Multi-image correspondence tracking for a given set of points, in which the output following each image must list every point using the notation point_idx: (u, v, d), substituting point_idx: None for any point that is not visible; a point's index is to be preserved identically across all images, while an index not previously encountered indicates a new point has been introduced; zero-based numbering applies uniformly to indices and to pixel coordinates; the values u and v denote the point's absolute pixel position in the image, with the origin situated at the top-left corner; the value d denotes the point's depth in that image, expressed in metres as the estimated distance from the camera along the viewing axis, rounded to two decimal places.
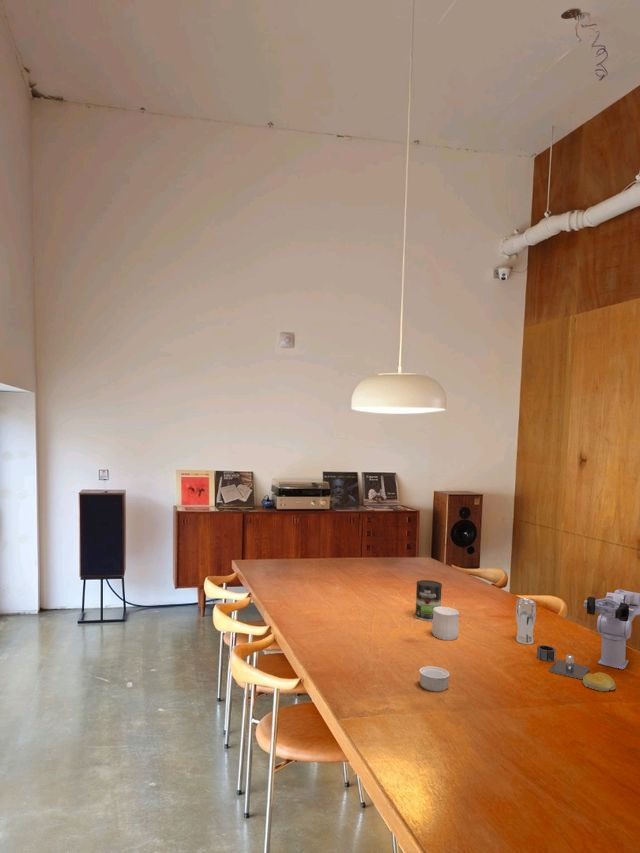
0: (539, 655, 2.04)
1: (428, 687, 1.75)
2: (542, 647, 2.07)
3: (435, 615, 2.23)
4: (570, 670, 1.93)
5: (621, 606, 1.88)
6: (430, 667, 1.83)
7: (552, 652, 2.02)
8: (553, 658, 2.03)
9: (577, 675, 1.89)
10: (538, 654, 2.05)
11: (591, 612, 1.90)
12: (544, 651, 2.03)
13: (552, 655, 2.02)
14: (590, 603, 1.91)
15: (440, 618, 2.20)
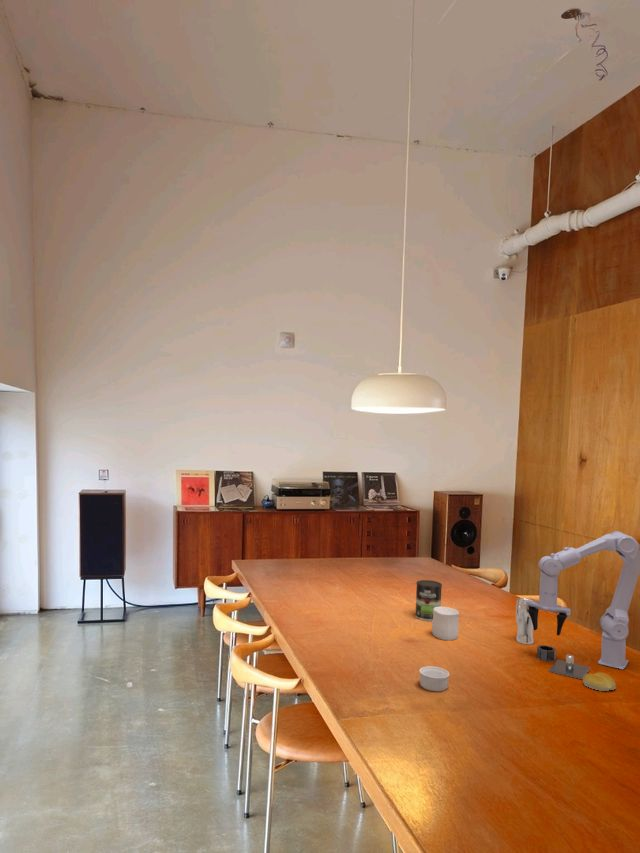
0: (539, 655, 2.04)
1: (428, 687, 1.75)
2: (542, 647, 2.07)
3: (435, 615, 2.23)
4: (570, 670, 1.93)
5: (559, 622, 2.01)
6: (430, 667, 1.83)
7: (552, 652, 2.02)
8: (553, 658, 2.03)
9: (577, 675, 1.89)
10: (538, 654, 2.05)
11: (537, 626, 2.08)
12: (544, 651, 2.03)
13: (552, 655, 2.02)
14: (533, 623, 2.06)
15: (440, 618, 2.20)
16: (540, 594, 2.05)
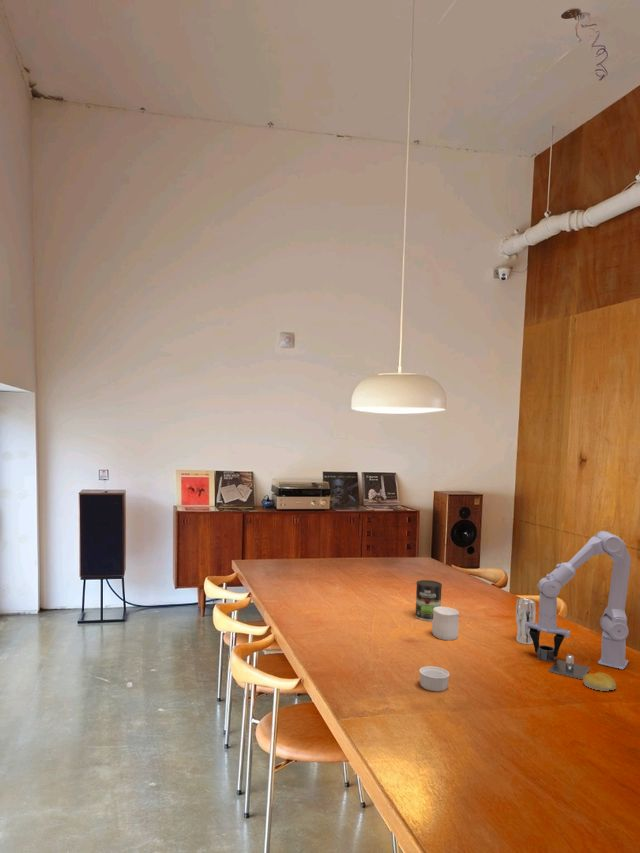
0: (539, 655, 2.04)
1: (428, 687, 1.75)
2: (542, 647, 2.07)
3: (435, 615, 2.23)
4: (570, 670, 1.93)
5: (556, 644, 2.01)
6: (430, 667, 1.83)
7: (552, 652, 2.02)
8: (553, 658, 2.03)
9: (577, 675, 1.89)
10: (538, 654, 2.05)
11: None
12: (544, 651, 2.03)
13: (552, 655, 2.02)
14: (534, 645, 2.06)
15: (440, 618, 2.20)
16: (539, 616, 2.05)
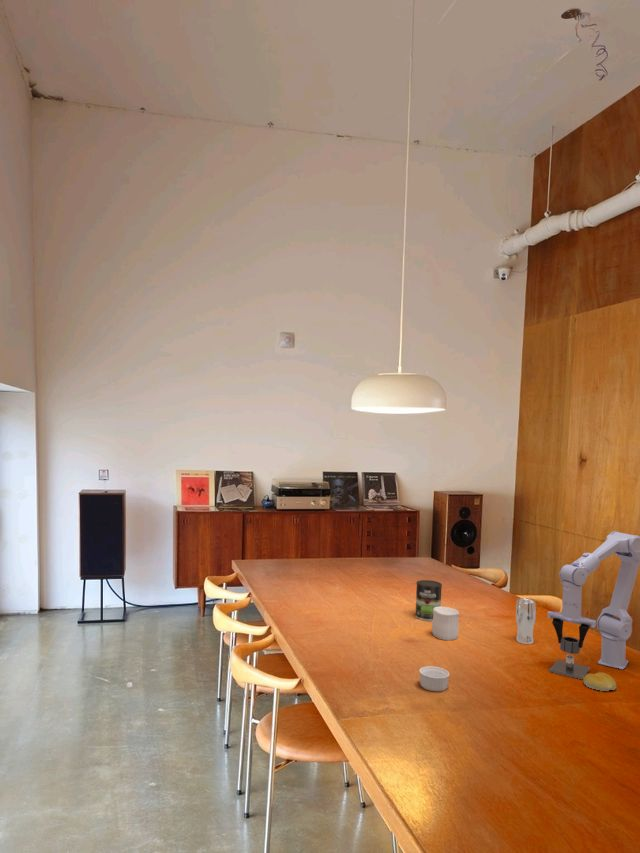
0: (563, 647, 1.94)
1: (428, 687, 1.75)
2: (566, 638, 1.97)
3: (435, 615, 2.23)
4: (570, 670, 1.93)
5: (581, 634, 1.91)
6: (430, 667, 1.83)
7: (577, 644, 1.92)
8: (578, 650, 1.93)
9: (577, 675, 1.89)
10: (562, 646, 1.94)
11: None
12: (569, 643, 1.92)
13: (577, 647, 1.92)
14: (558, 636, 1.96)
15: (440, 618, 2.20)
16: (563, 605, 1.95)
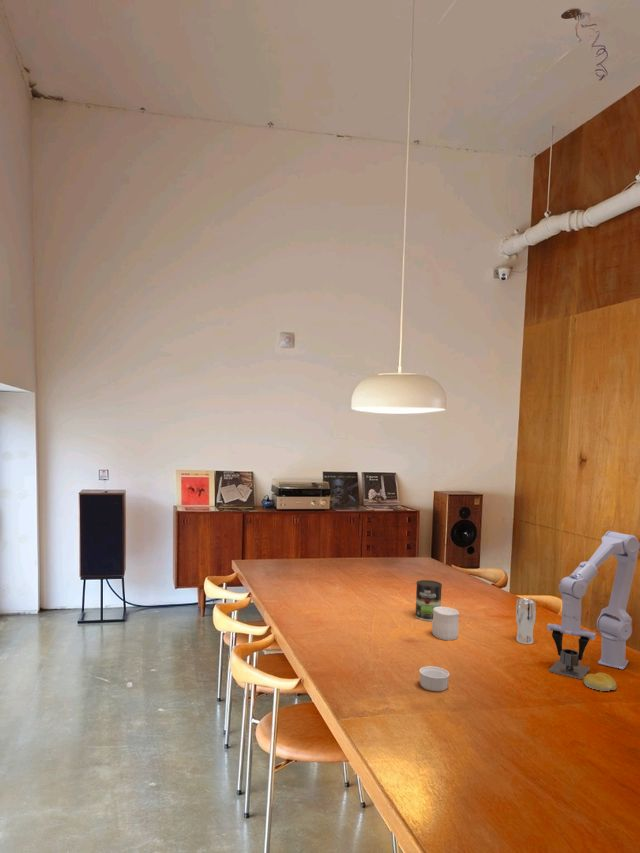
0: (562, 659, 1.94)
1: (428, 687, 1.75)
2: (565, 651, 1.97)
3: (435, 615, 2.23)
4: (570, 670, 1.93)
5: (581, 646, 1.91)
6: (430, 667, 1.83)
7: (577, 656, 1.92)
8: (577, 663, 1.92)
9: (577, 675, 1.89)
10: (561, 658, 1.94)
11: None
12: (568, 655, 1.92)
13: (576, 660, 1.92)
14: (557, 648, 1.96)
15: (440, 618, 2.20)
16: (563, 617, 1.95)
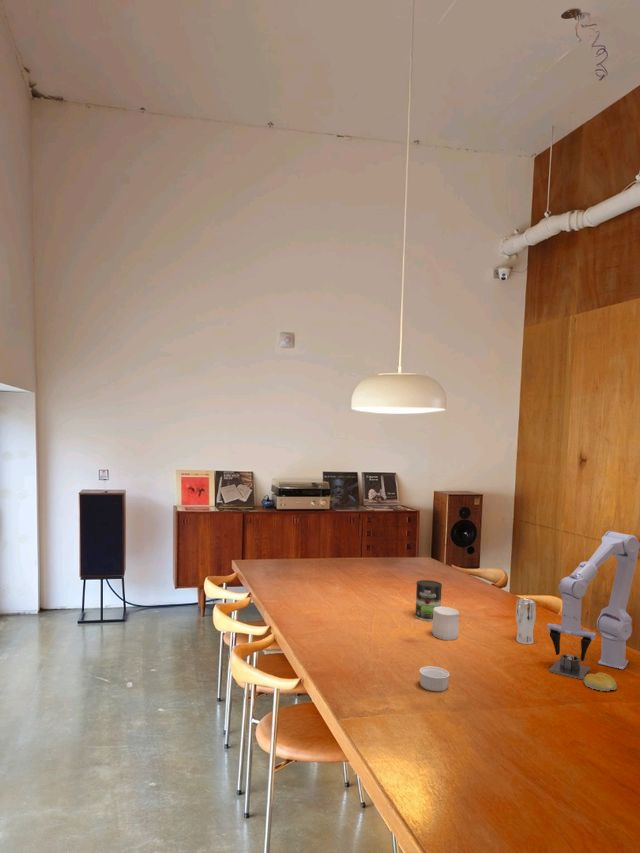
0: (562, 665, 1.94)
1: (428, 687, 1.75)
2: (565, 656, 1.97)
3: (435, 615, 2.23)
4: None
5: (583, 647, 1.91)
6: (430, 667, 1.83)
7: (576, 662, 1.92)
8: (577, 668, 1.92)
9: (577, 675, 1.89)
10: (561, 664, 1.94)
11: (559, 650, 1.98)
12: (568, 661, 1.92)
13: (576, 665, 1.92)
14: (555, 648, 1.96)
15: (440, 618, 2.20)
16: (563, 617, 1.95)
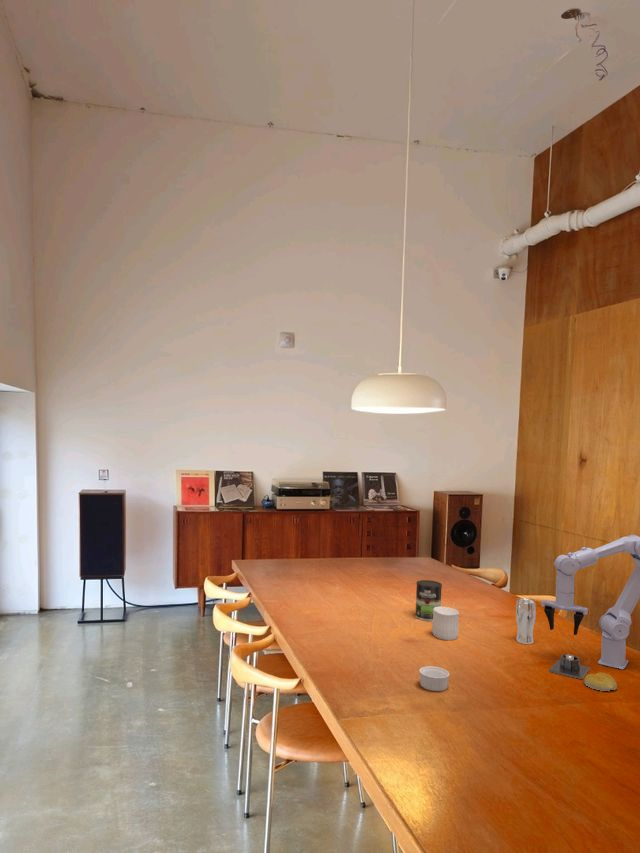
0: (562, 665, 1.94)
1: (428, 687, 1.75)
2: (565, 656, 1.97)
3: (435, 615, 2.23)
4: None
5: (576, 621, 1.99)
6: (430, 667, 1.83)
7: (576, 662, 1.92)
8: (577, 668, 1.92)
9: (577, 675, 1.89)
10: (561, 664, 1.94)
11: (553, 625, 2.06)
12: (568, 661, 1.92)
13: (576, 665, 1.92)
14: (549, 623, 2.05)
15: (440, 618, 2.20)
16: (557, 593, 2.03)
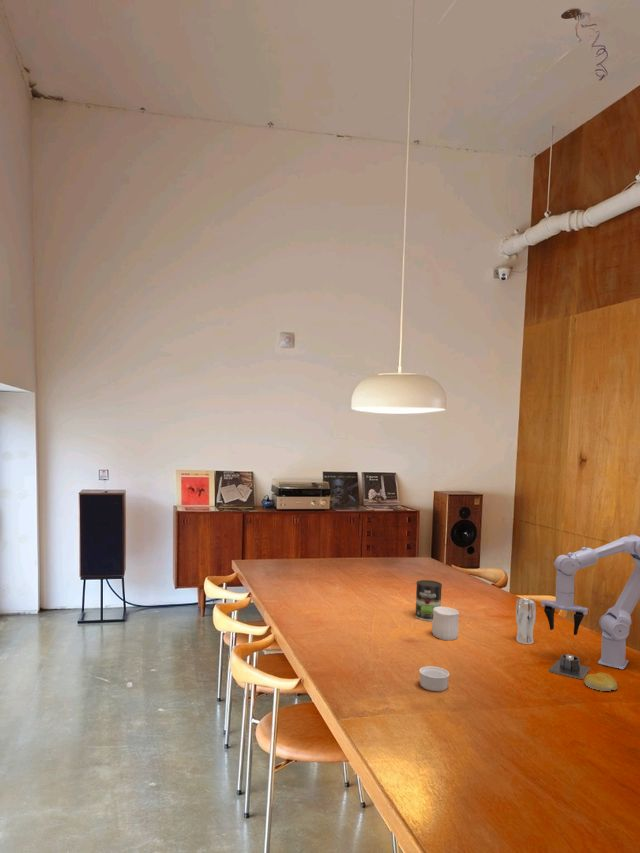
0: (562, 665, 1.94)
1: (428, 687, 1.75)
2: (565, 656, 1.97)
3: (435, 615, 2.23)
4: None
5: (576, 621, 1.99)
6: (430, 667, 1.83)
7: (576, 662, 1.92)
8: (577, 668, 1.92)
9: (577, 675, 1.89)
10: (561, 664, 1.94)
11: (553, 625, 2.06)
12: (568, 661, 1.92)
13: (576, 665, 1.92)
14: (549, 623, 2.05)
15: (440, 618, 2.20)
16: (557, 593, 2.03)
